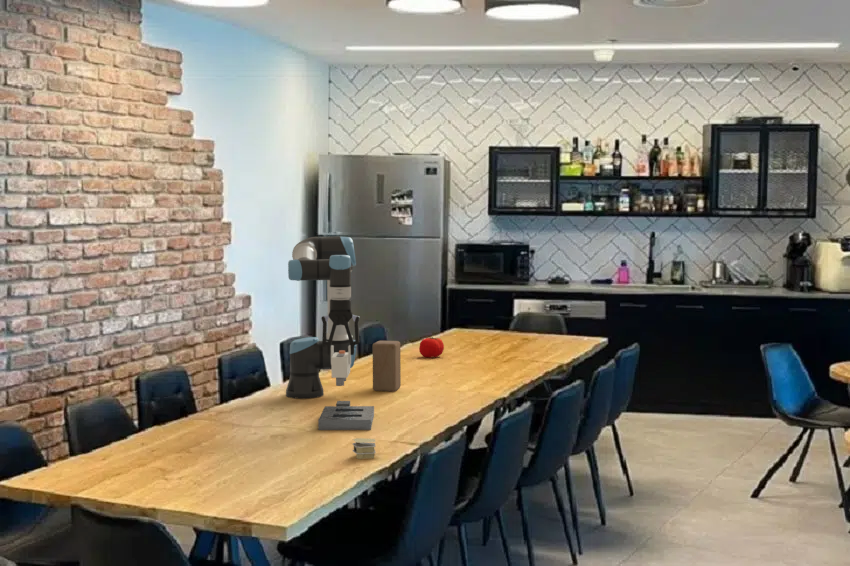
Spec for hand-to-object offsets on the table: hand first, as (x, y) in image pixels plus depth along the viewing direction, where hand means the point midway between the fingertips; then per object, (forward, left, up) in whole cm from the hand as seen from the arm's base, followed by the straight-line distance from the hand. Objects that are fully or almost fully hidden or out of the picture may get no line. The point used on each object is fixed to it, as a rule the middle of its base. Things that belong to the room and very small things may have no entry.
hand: (341, 363), depth 369 cm
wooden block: (+14, +65, -21) cm, 70 cm away
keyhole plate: (+2, 0, -21) cm, 21 cm away
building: (+11, -50, -22) cm, 55 cm away
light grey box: (0, 0, -7) cm, 7 cm away
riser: (-1, +21, -21) cm, 30 cm away
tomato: (+33, +155, -21) cm, 160 cm away
